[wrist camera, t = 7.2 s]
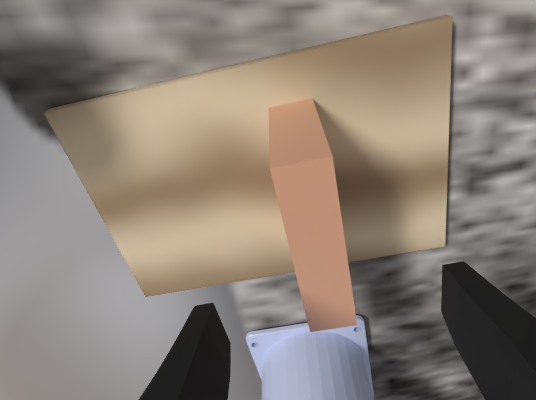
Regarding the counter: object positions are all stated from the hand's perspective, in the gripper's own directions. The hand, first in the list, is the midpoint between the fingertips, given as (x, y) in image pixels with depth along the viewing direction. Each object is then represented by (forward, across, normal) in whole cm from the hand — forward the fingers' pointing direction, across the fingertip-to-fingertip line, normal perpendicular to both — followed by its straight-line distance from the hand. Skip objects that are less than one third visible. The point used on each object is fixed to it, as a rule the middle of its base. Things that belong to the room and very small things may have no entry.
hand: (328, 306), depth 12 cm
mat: (+9, +2, 0) cm, 9 cm away
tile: (+8, 0, 0) cm, 8 cm away
